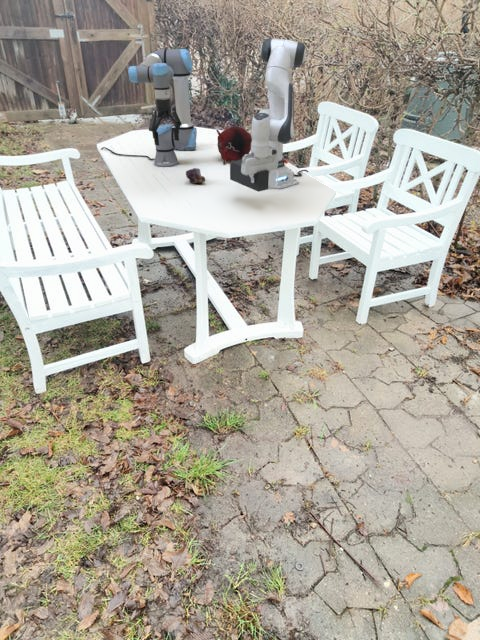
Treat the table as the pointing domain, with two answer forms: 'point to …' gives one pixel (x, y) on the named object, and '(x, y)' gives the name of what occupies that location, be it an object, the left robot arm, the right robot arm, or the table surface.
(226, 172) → the table surface
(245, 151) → the dark red rounded piece
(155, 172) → the table surface
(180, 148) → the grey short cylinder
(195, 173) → the rock
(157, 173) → the table surface
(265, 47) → the right robot arm
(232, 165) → the box
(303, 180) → the table surface
